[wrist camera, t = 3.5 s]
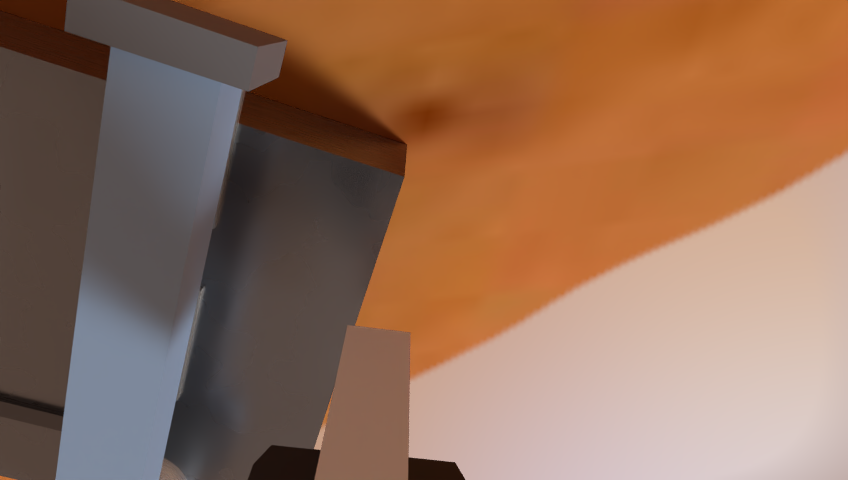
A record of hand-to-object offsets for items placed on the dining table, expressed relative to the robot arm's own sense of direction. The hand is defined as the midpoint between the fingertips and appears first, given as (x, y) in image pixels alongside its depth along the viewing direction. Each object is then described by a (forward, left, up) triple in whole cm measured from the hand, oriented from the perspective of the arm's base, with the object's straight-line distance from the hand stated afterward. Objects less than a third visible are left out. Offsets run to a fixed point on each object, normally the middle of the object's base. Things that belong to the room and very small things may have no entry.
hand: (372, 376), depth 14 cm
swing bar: (-6, -2, -1) cm, 6 cm away
